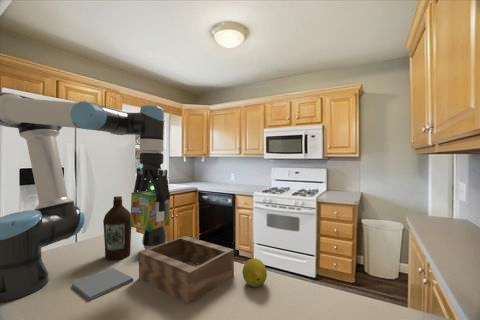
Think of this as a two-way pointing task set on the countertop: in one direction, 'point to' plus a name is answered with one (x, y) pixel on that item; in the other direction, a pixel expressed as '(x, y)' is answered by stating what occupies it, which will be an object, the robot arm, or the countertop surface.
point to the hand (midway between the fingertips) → (150, 218)
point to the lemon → (254, 272)
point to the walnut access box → (186, 267)
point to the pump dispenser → (154, 237)
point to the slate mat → (101, 283)
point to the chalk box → (147, 210)
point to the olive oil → (117, 231)
